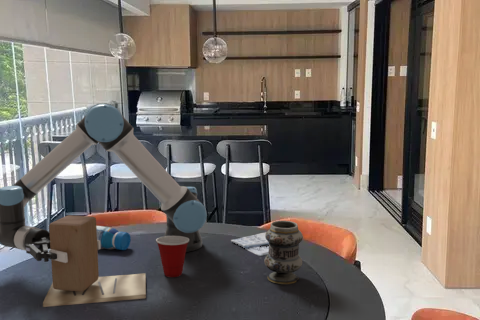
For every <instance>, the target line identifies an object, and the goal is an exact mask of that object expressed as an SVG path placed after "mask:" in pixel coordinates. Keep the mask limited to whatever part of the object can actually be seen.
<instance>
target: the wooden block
mask: <svg viewBox="0 0 480 320" xmlns="http://www.w3.org/2000/svg"><path fill="white" fill-rule="evenodd" d="M96 225H97V219H96V217H95V216H89V215H88V216H87V215H71V214H70V215H69V214H67V215H66V216H63V217H62V218H59V219H56V220H55V221H52V222H50V223H49V226H48V230H49V231H48V232H49V233H50V248H51V249H53V250H57V251H62V252H66V253H67V258H68V262H67V263H64V262H60V261H56V260H52V259H50V263H51V277H52V278H51V279H52V282H53V288H54V289H58V290H69V291H79V292H82V291H85V290H86V289H87V288H88V287H90V286H91V285H92V284H93V283H95V282H96V281H97V280H98V278H99V277H100V274H99V271H100V270H99V254H98V251H99V250H98V249H97V228H96Z"/></svg>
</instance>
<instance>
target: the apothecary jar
mask: <svg viewBox="0 0 480 320" xmlns="http://www.w3.org/2000/svg"><path fill="white" fill-rule="evenodd" d="M265 232H266V234H265V238H266V240H267V241H268V242H269V244H268V245H269V252H268V254H267V255H265V257H264V260H263V261H264V265H265V267H266V268H267V269H268V270H270V271H272V272H270V273H269V274H268V275H267V280H268V281H269V282H271V283H274V284H276V285H292V284H295V283H297V281H299V278H300V277H299V276H298V275H297V274H296V273H294V272H296V271H299V269H301V268H302V266H303V258H301V256H300V255H299V253H300V252H299V251H300V250H299V249H300V246H299V245H300V243H302V241H303V239H304V235H303V233H302V232H301V230H300V229H299V226H298V223H296V222H295V221H292V220H274V221H273V222H271V223H270V227H269V229H268V230H266V231H265Z"/></svg>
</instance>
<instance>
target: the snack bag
mask: <svg viewBox="0 0 480 320" xmlns="http://www.w3.org/2000/svg"><path fill="white" fill-rule="evenodd" d="M266 232H267V231H265V232H261V233H256V234H253V235H248V236H243V237H239V238H235V239H230V242H231V243H232V242H233V244H234V243H235V245H237V244H238V245H237V246H238V247H240V246H241V247H240V248H242V247H243V249H244V248H245V249H244V250H245V251H248V252H250V253H252V254H254V255H256V256H258V257H263V256H266V255H267V254H268V252H269V246H268V245H269V242H268V241H267V240H266V238H265V234H266ZM260 246H261V247H260ZM266 246H267V247H266Z"/></svg>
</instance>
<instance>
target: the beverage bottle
mask: <svg viewBox="0 0 480 320" xmlns="http://www.w3.org/2000/svg"><path fill="white" fill-rule="evenodd" d="M96 228H97V240H100V244H101V249H100V250H105V249H106V250H114V249H116V250H118V251H119V250H120V251H126V250H127V249H128V248H129V247H130V245H131V241H132V239H131V234H130V233H129V232H126V231H119V230H118V229H116V228H115V227H110V226H103V225H97V224H96Z"/></svg>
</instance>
